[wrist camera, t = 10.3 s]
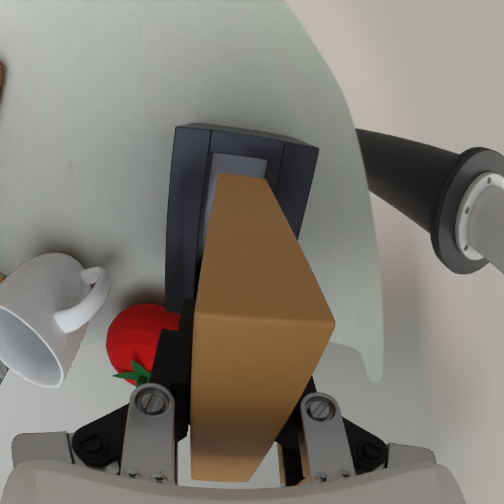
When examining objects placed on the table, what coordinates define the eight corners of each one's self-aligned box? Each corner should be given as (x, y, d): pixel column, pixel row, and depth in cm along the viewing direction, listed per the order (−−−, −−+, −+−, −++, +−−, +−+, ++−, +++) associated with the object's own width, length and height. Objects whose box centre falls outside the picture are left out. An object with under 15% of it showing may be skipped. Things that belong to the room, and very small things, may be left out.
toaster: (193, 122, 23) (175, 126, 15) (292, 137, 24) (319, 148, 17) (180, 259, 29) (165, 311, 22) (264, 269, 30) (275, 322, 23)
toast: (218, 171, 14) (193, 312, 4) (266, 178, 14) (338, 323, 5) (201, 321, 19) (191, 479, 9) (238, 325, 19) (248, 482, 9)
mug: (102, 209, 26) (34, 278, 14) (148, 294, 31) (117, 384, 19) (22, 253, 27) (-36, 314, 16) (64, 318, 32) (26, 389, 21)
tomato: (132, 348, 35) (115, 407, 26) (108, 287, 30) (77, 346, 21) (205, 348, 36) (201, 412, 27) (193, 283, 31) (181, 351, 22)
